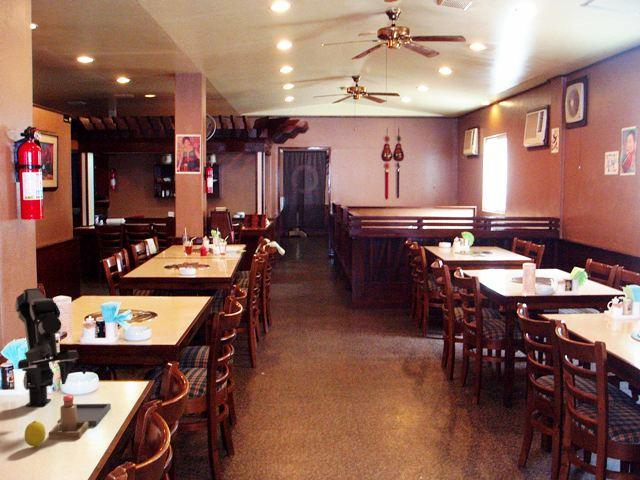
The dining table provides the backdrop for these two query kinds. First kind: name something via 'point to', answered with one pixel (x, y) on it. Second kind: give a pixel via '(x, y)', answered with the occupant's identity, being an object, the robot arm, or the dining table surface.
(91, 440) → the dining table surface
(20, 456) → the dining table surface
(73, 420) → the bottle
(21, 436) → the dining table surface
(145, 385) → the dining table surface
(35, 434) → the lemon
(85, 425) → the stand
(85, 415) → the tray
